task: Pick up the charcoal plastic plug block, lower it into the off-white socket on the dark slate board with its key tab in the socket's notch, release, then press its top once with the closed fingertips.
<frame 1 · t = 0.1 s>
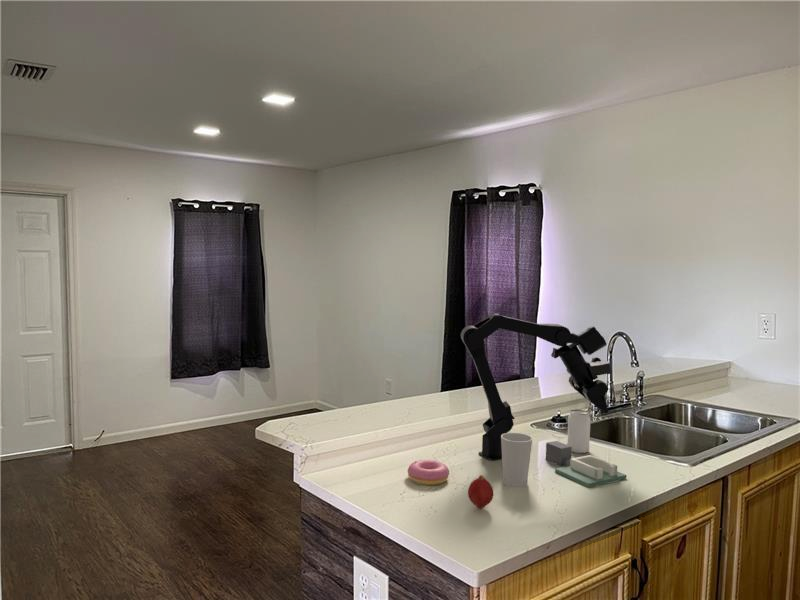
hand: (601, 408, 173), 15 cm above the worktop, tool tilted 30°, fingers open, 9 cm apart
doughnut: (428, 480, 155), on the worktop
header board: (590, 475, 160), on the worktop
can: (577, 451, 181), on the worktop
cup: (514, 483, 153), on the worktop
plug: (558, 461, 170), on the worktop
onion: (480, 509, 137), on the worktop
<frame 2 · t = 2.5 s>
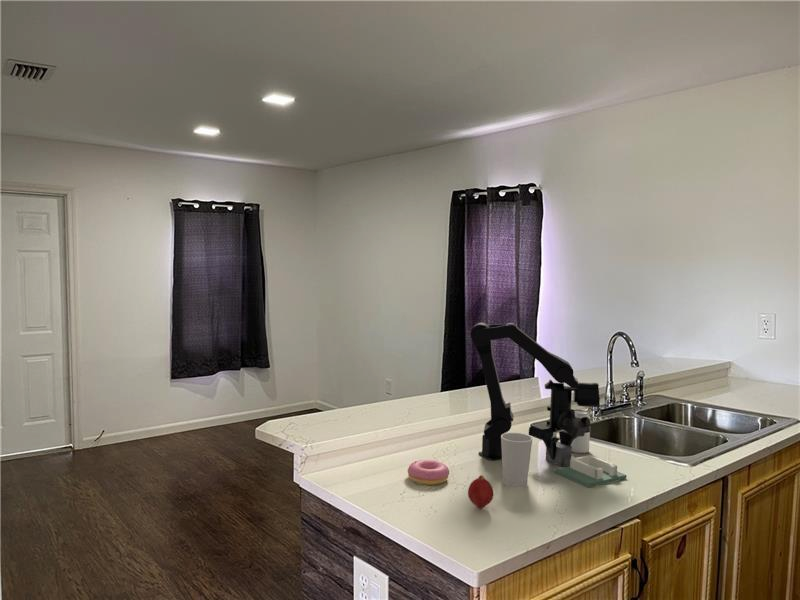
hand: (558, 458, 170), 1 cm above the worktop, tool pointing down, fingers closed on plug, 4 cm apart
plug: (558, 461, 170), on the worktop, touching gripper
everything else where it was.
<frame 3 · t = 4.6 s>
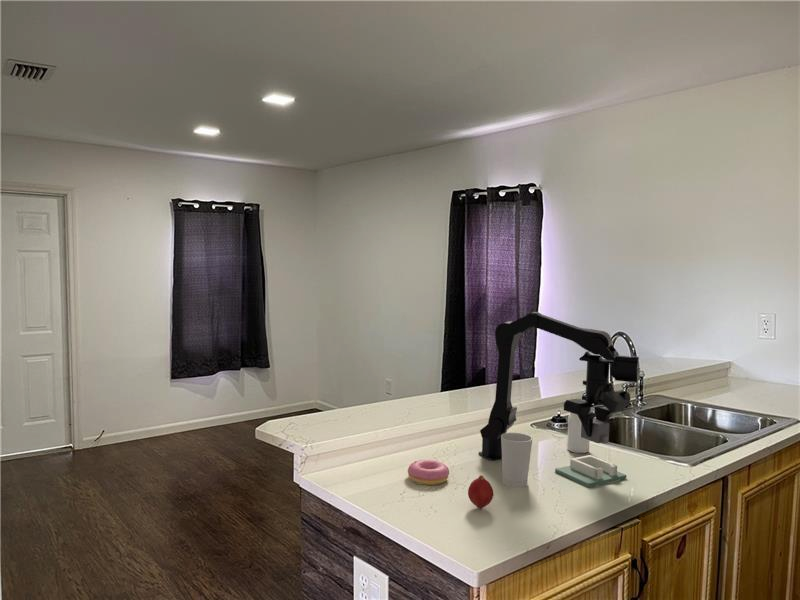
hand: (594, 435, 160), 11 cm above the worktop, tool pointing down, fingers closed on plug, 4 cm apart
plug: (594, 439, 160), point 10 cm above the worktop, touching gripper
everything else where it was.
when the fingers open (4 cm above the worktop, at t = 6.4 s): plug drops 2 cm, resting on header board.
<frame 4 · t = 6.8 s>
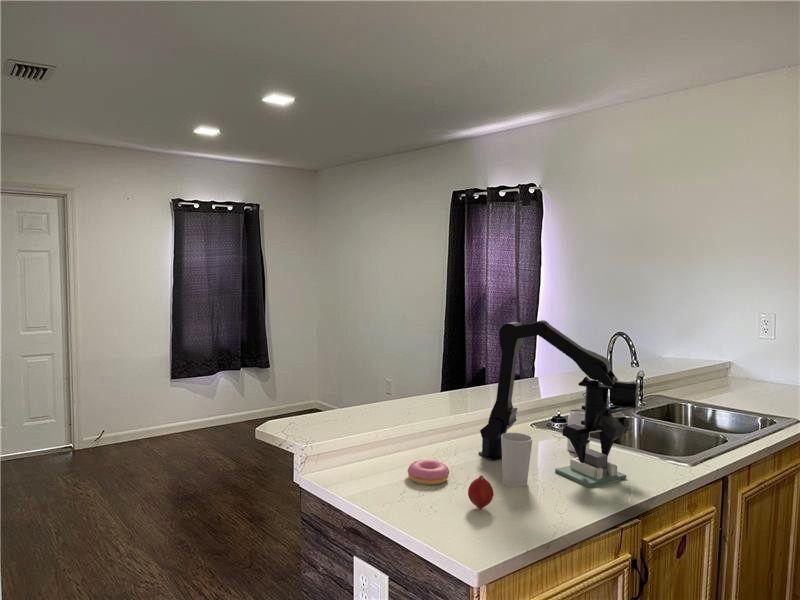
hand: (593, 460, 160), 4 cm above the worktop, tool pointing down, fingers open, 8 cm apart
plug: (592, 471, 160), point 1 cm above the worktop, touching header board
everything else where it was.
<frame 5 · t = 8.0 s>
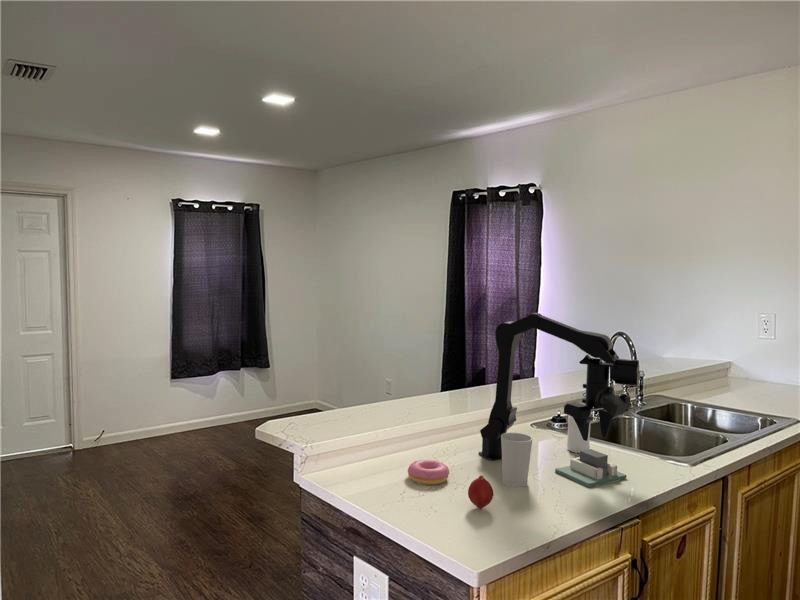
hand: (594, 438, 160), 10 cm above the worktop, tool pointing down, fingers open, 7 cm apart
nothing on the worktop moved.
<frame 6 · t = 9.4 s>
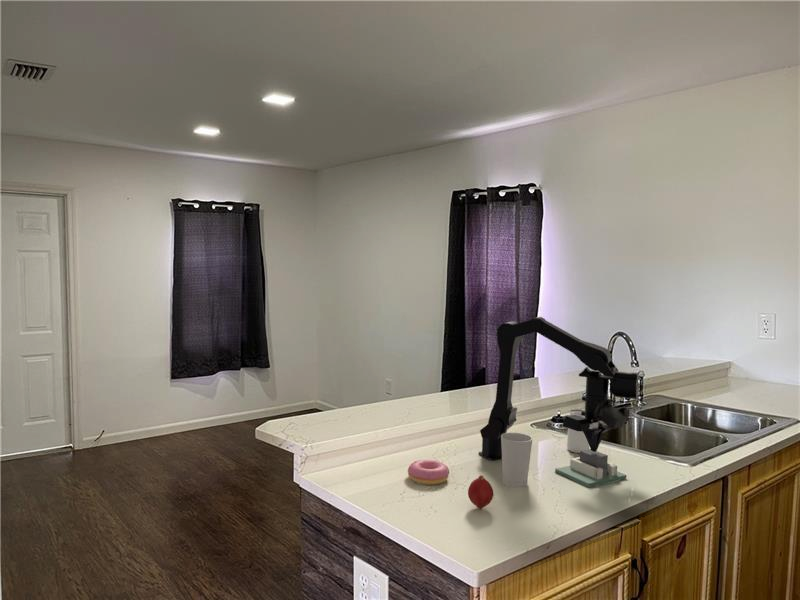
hand: (593, 451, 160), 7 cm above the worktop, tool pointing down, fingers closed
nothing on the worktop moved.
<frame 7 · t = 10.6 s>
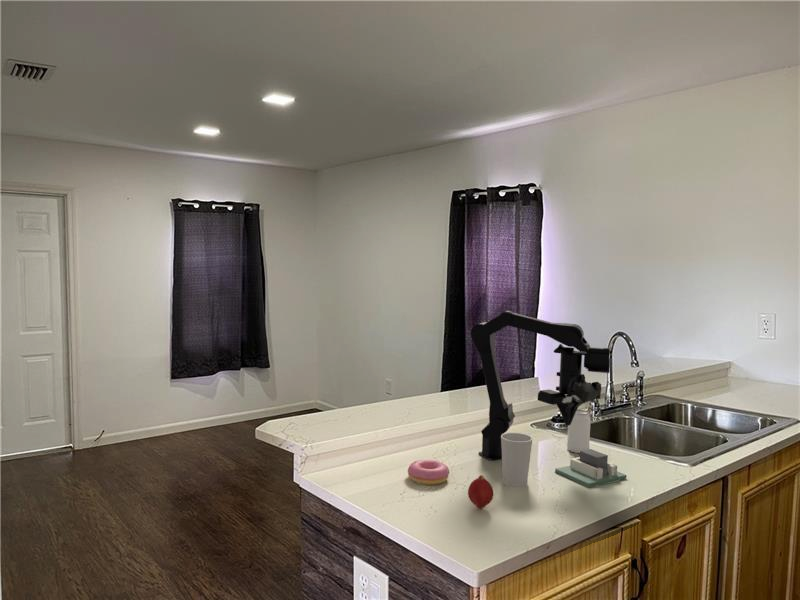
hand: (567, 424, 165), 12 cm above the worktop, tool pointing down, fingers closed
nothing on the worktop moved.
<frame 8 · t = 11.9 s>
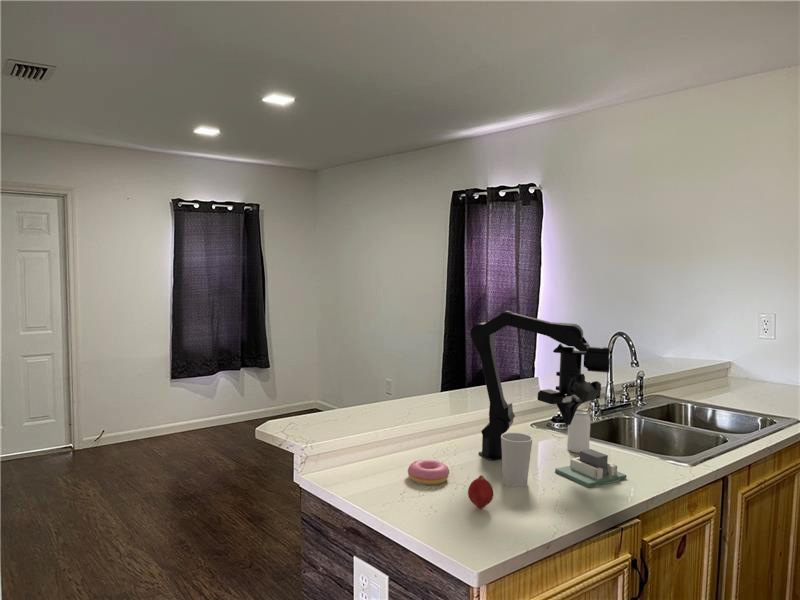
hand: (567, 424, 165), 12 cm above the worktop, tool pointing down, fingers closed
nothing on the worktop moved.
at the end: plug 0.0 cm from the target spot on the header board, point 1.0 cm above the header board's base; plug tilted 0°; the gripper is holding nothing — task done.
